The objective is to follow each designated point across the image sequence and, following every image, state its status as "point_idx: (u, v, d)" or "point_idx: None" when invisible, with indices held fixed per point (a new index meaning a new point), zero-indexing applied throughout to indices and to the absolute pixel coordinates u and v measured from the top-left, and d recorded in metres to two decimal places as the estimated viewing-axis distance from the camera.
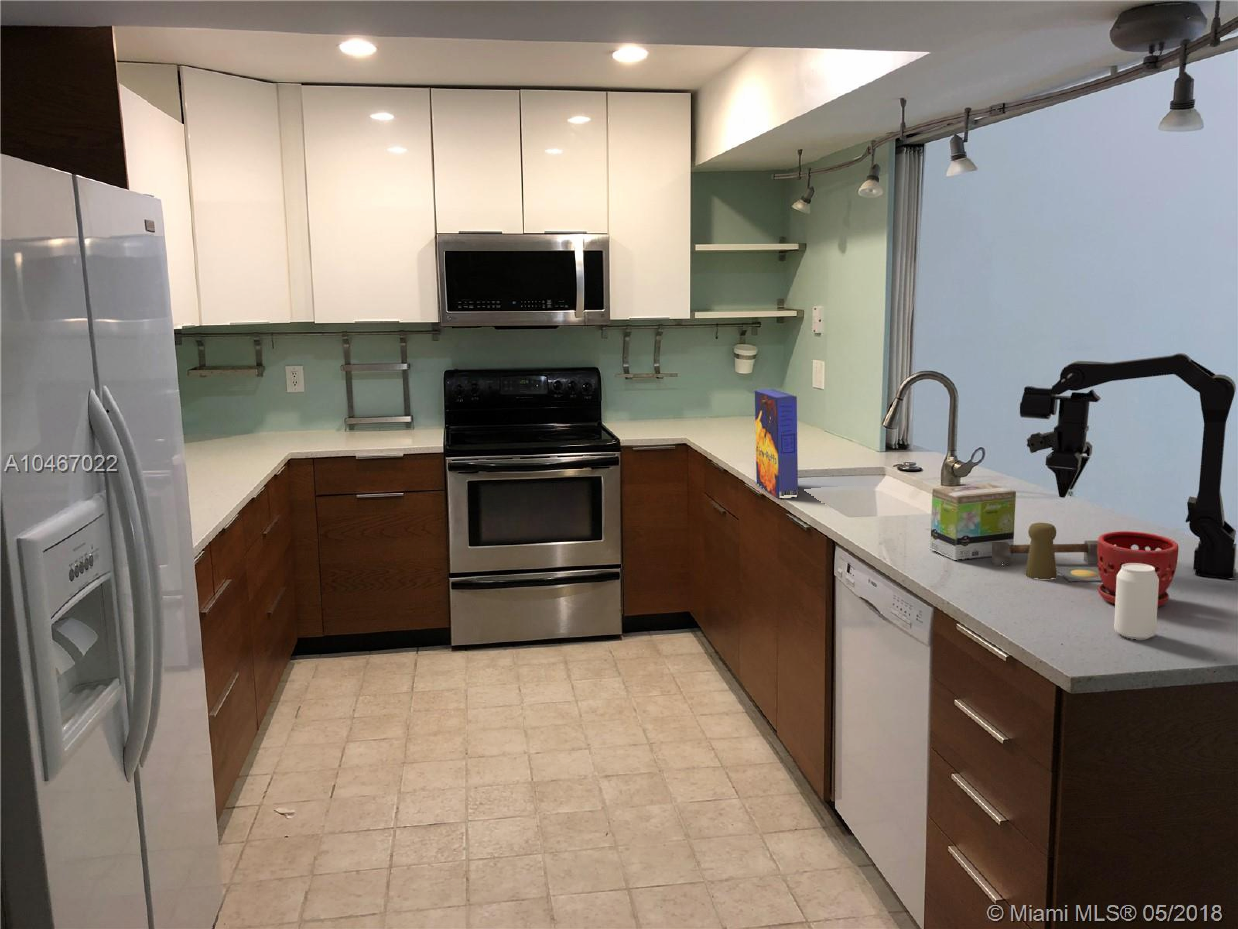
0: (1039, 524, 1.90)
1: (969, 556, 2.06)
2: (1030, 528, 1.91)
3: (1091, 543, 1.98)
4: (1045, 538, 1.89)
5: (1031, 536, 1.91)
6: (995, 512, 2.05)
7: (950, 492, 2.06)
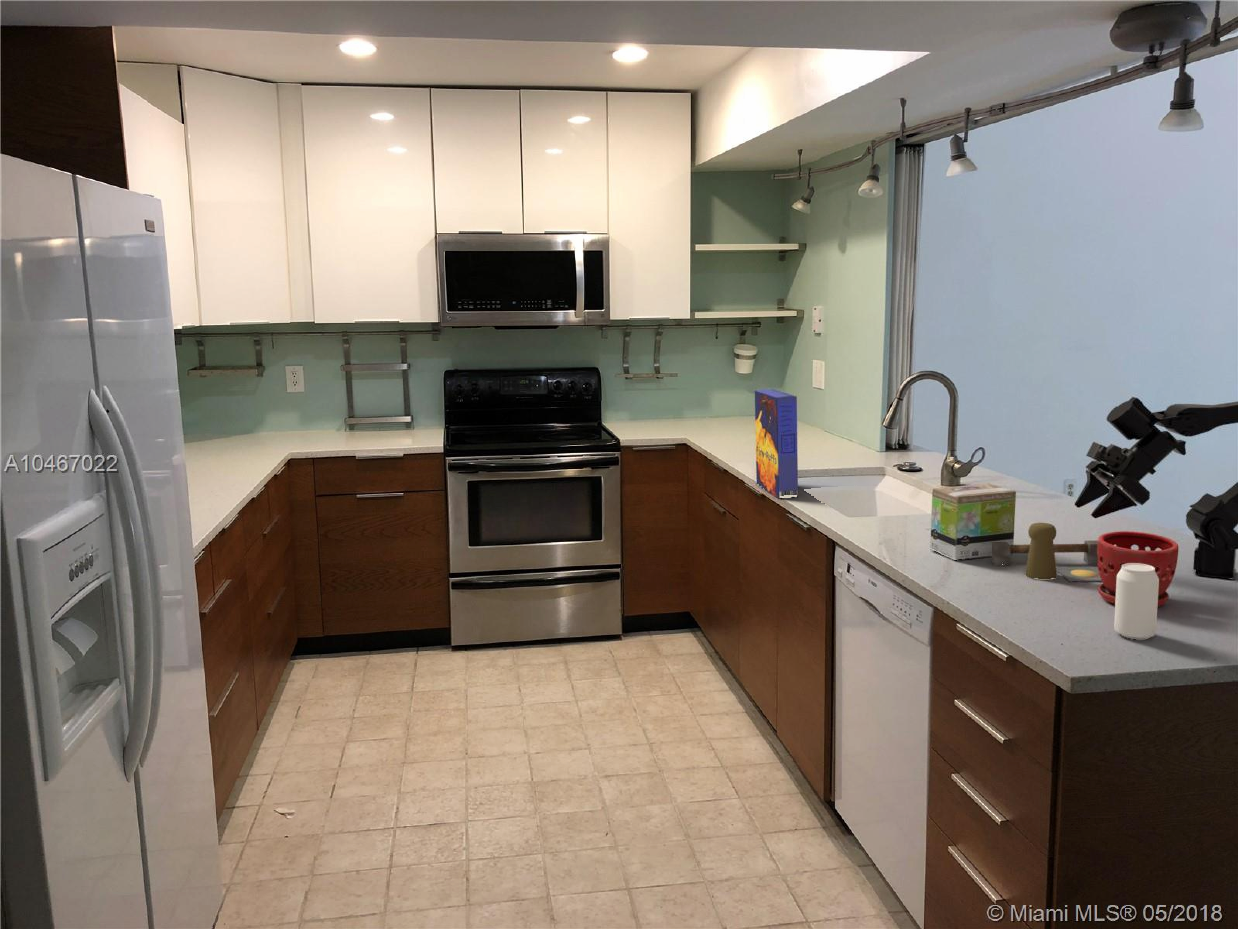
0: (1039, 524, 1.90)
1: (969, 556, 2.06)
2: (1030, 528, 1.91)
3: (1091, 543, 1.98)
4: (1045, 538, 1.89)
5: (1031, 536, 1.91)
6: (995, 512, 2.05)
7: (950, 492, 2.06)
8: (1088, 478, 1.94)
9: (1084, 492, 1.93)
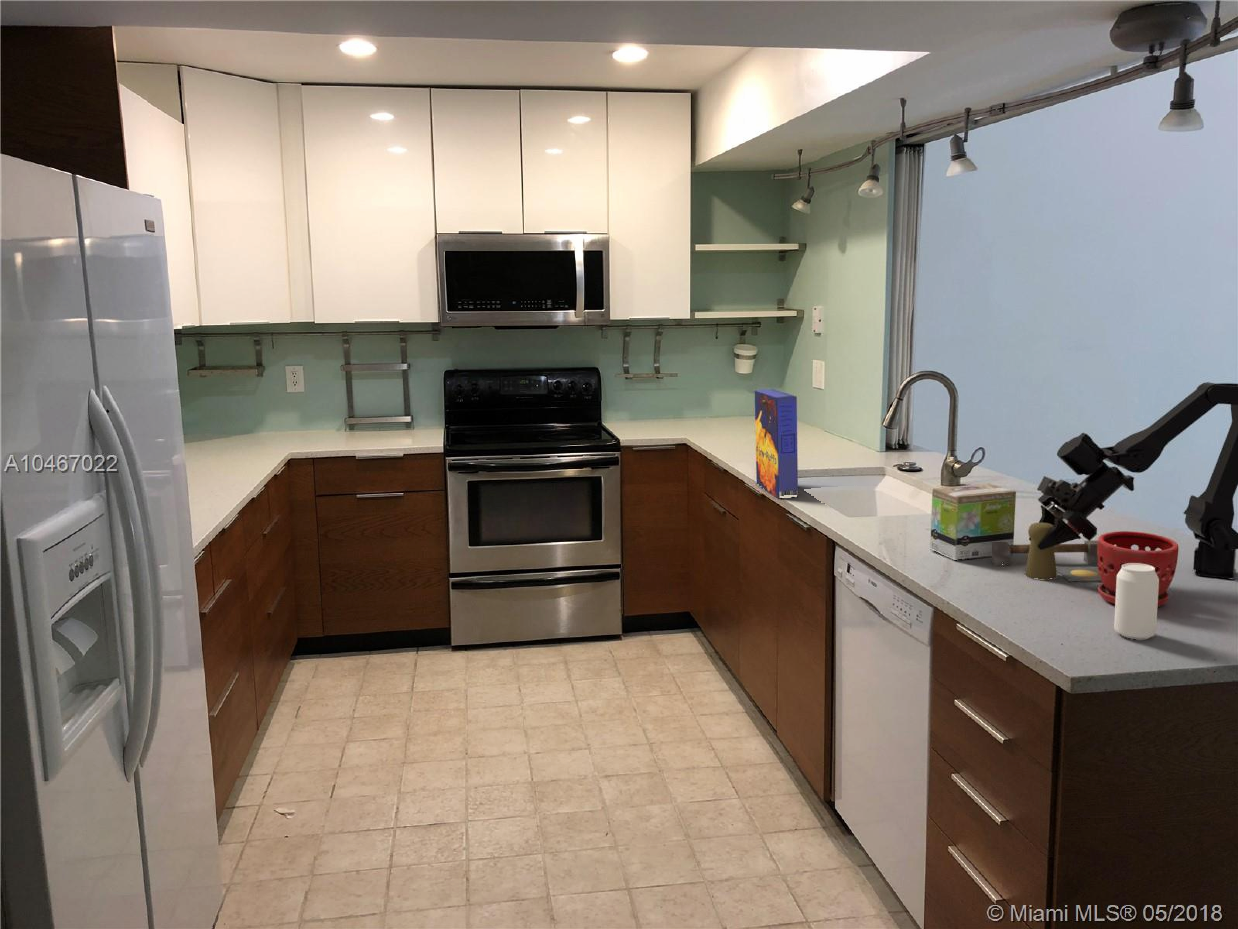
0: (1039, 524, 1.90)
1: (969, 556, 2.06)
2: (1030, 528, 1.91)
3: (1091, 543, 1.98)
4: None
5: (1031, 536, 1.91)
6: (995, 512, 2.05)
7: (950, 492, 2.06)
8: (1043, 513, 1.94)
9: None
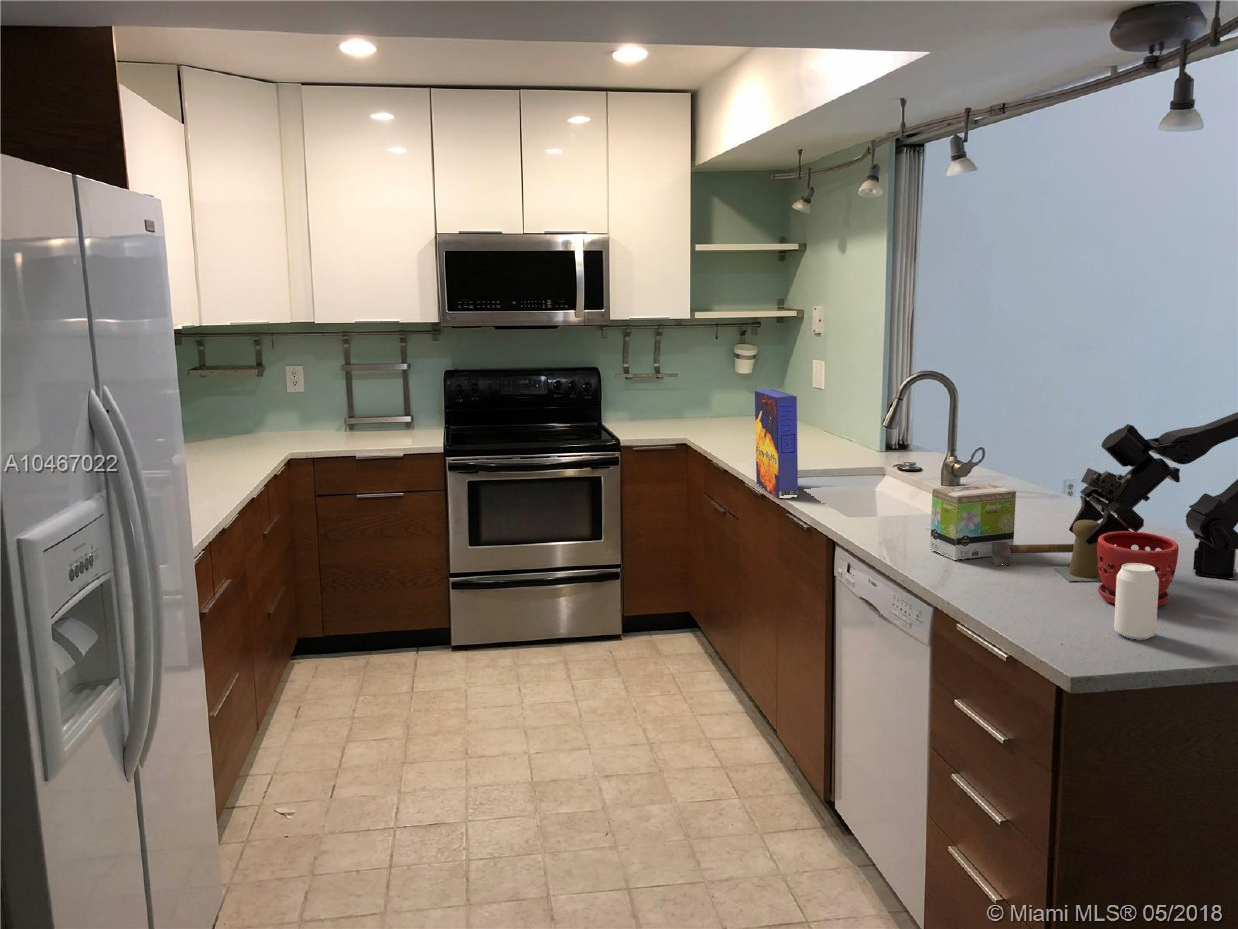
0: (1084, 521, 1.89)
1: (969, 556, 2.06)
2: (1075, 525, 1.90)
3: None
4: None
5: (1076, 533, 1.90)
6: (995, 512, 2.05)
7: (950, 492, 2.06)
8: (1082, 503, 1.95)
9: (1078, 517, 1.94)
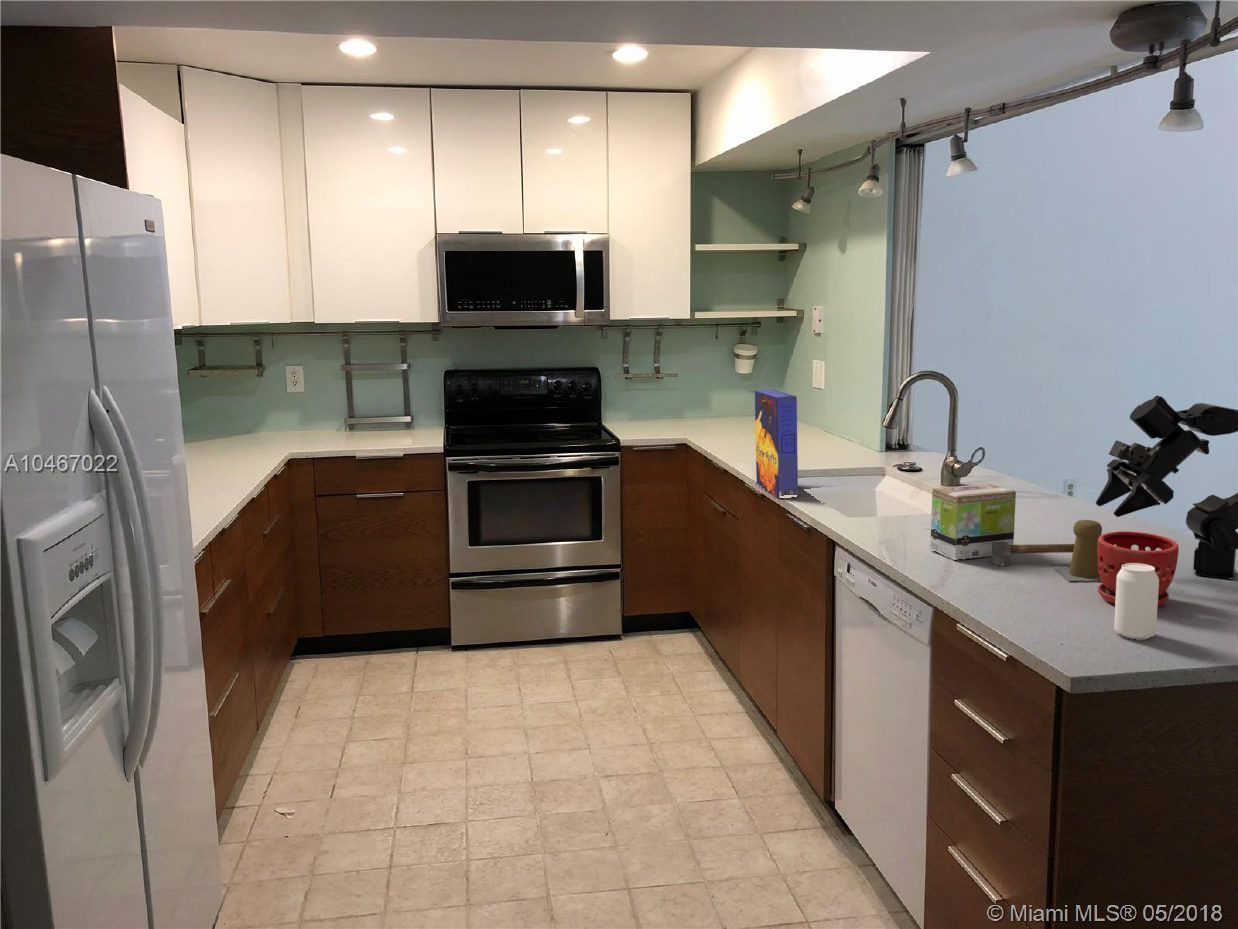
0: (1085, 521, 1.89)
1: (969, 556, 2.06)
2: (1075, 525, 1.90)
3: None
4: (1091, 535, 1.87)
5: (1076, 533, 1.89)
6: (995, 512, 2.05)
7: (950, 492, 2.06)
8: (1109, 477, 1.93)
9: (1105, 491, 1.93)
